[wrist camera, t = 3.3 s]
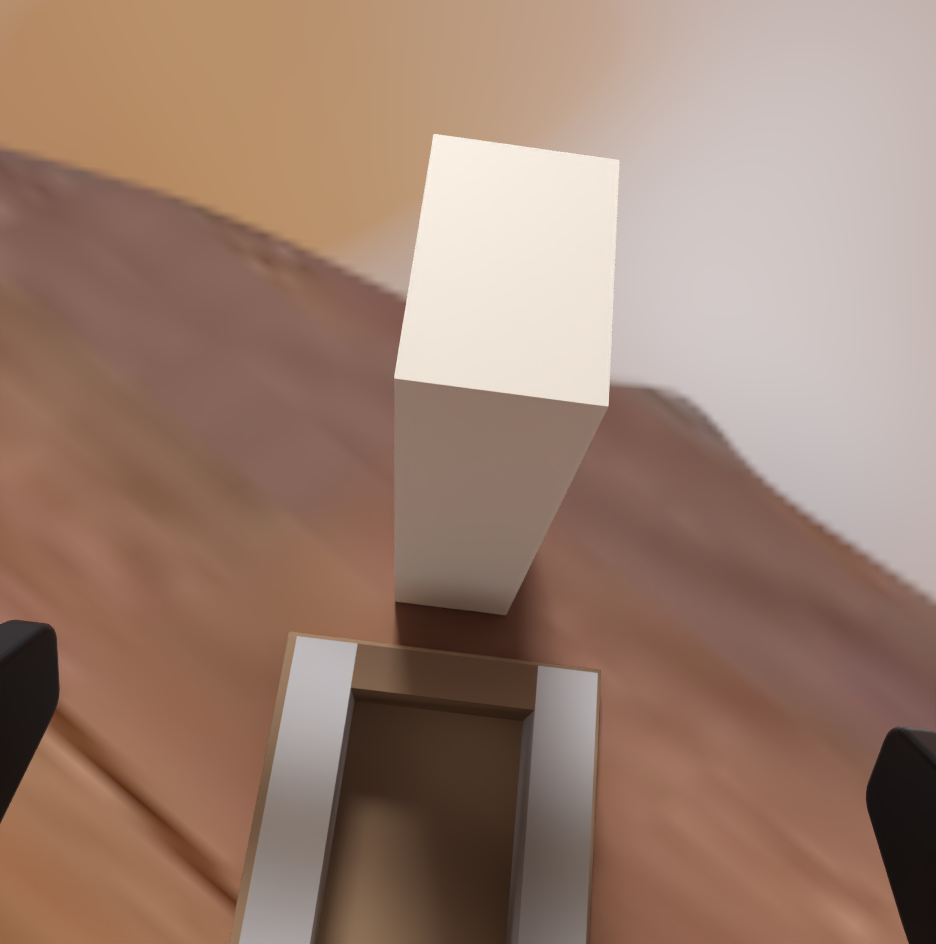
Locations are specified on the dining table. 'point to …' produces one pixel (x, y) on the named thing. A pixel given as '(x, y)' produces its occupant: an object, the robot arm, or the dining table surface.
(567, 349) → the tall cream box
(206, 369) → the dining table surface
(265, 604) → the dining table surface
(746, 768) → the dining table surface
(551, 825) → the track
